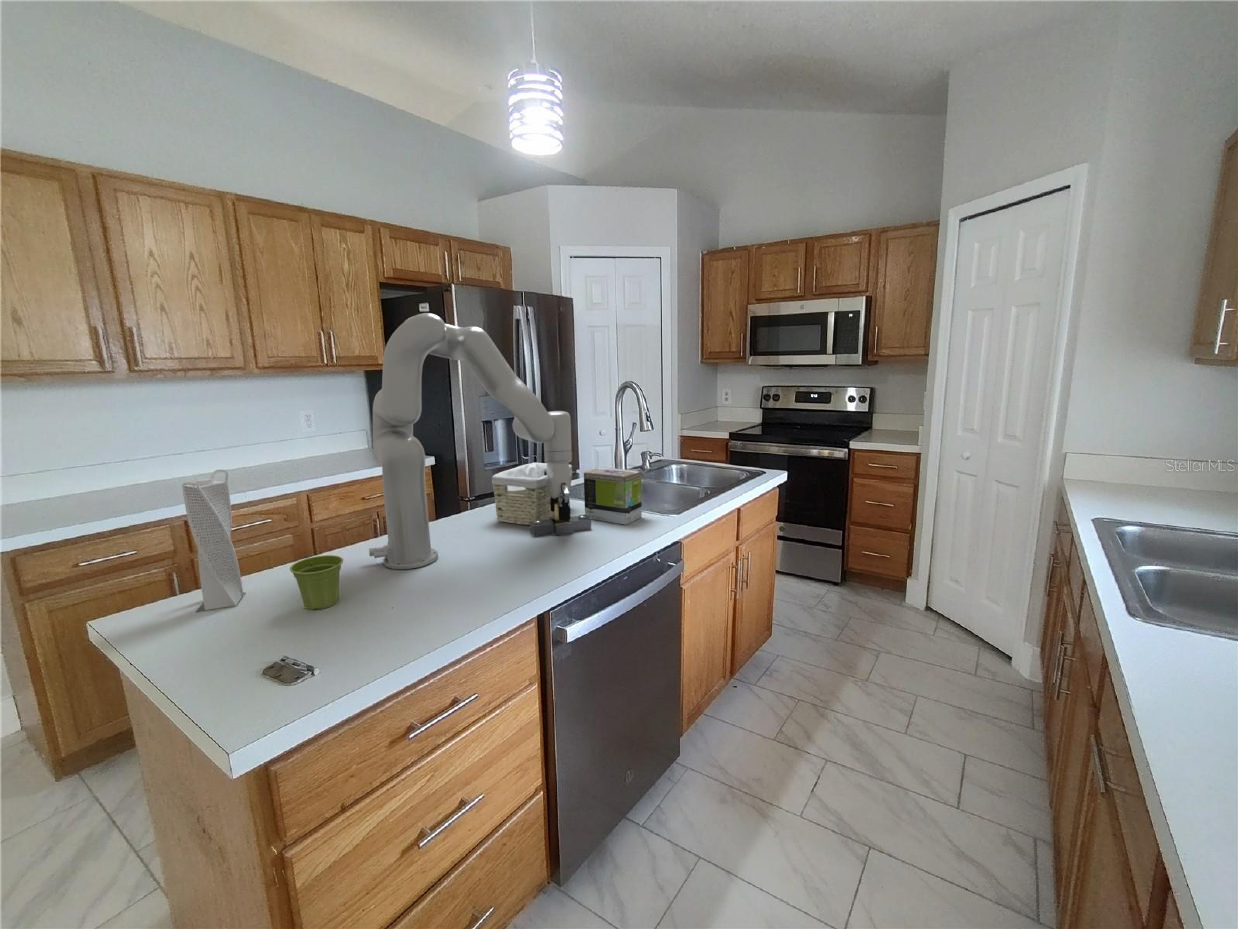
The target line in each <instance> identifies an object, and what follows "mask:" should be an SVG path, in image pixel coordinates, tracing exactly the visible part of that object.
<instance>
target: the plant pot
mask: <svg viewBox="0 0 1238 929" xmlns="http://www.w3.org/2000/svg"><path fill="white" fill-rule="evenodd" d="M343 563H344V558H343V557H341V556H339V555H333V554H332V555H331V554H329V555H317V556H312V557H309V558H304V559H301V560H299V561H297V562H294V563H293V564H291V566H290V567H289V570H290V572H291V573H292V575H293V576H294V578H295V579H296V582H297V586H298V589H299V592H300V595H301V598H302V602H303V605H304V607H305V609H307V610H311V611H312V610H315V609H320V610H323V609H327V608H329V607H332V606H334V605H335V604H337V602H338V600H339V594H340V593H339V592H340V571H341V568H342V564H343Z"/></svg>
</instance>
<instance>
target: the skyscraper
mask: <svg viewBox="0 0 1238 929" xmlns="http://www.w3.org/2000/svg"><path fill="white" fill-rule="evenodd" d="M217 473H224V474H225V479H224V481H221V480H215V479H214V477H215V475H216V474H217ZM228 479H229V471H226V470H224V469H216V470H214V471H213V472H212V474H211V476H210V477H206V478H204V477H203V478H199V479H196V480H195V482H188V481H187V482H183V483H182V485H181V488H182V494H183V501H184V507H185V511H186V517H187V521H188V524H189V528H190V532H191V534H192V538H193V539H194V542H195V544H196V547H197V559H198V563H197V564H198V572H199V580H200V587H201V593H202V600H203V601H202V603H201V604H200V605H199V607H197V609H196V610H195V613H200V612H209V611H215V610H222V609H227V608H229V609H230V608H234V607H235V608H236V607H238V605H239V604H240V603H241V601H242V599H243V598H244V597H245V595H246V592H245V591H244V590H243V589H244V588H243V582H242V577H241V571H240V567H239V561H238V558H237V553H236V550H235V548H234V544H233V541H232V539H231V533H232V525H233V523H232V516H233V515H232V505H231V504H232V503H231V495H230V489H229V483H228Z"/></svg>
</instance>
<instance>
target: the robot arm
mask: <svg viewBox="0 0 1238 929" xmlns="http://www.w3.org/2000/svg"><path fill="white" fill-rule="evenodd" d="M428 355H432V356H437V357H440V358H443V359H444V358H445V359H449V360H455V361H459V362H460V361H461V362H464V363H465V364H466V365H467V367H468V368H469V370H470V371H471V372H472V373H473V375H474V376H475V378H476V379H477V380H478V382H479V383H480V385H481V386H482V387H483V389H484V390H485V391H486V393H487V394H488V395H490V397H492V398H493V399H494V400H495V401H497V402H499V403H500V404H502V405H504V406H505V408H507V409H508V410H509V411H510V412H511V413H512V414H513V415H514V416H515V418H514V419H513V421H512V430H513V432H514V434H515V435H516V436H517V437H519V438H520V439H523V440H525V441H528V442H529V441H530V442H533V443H536V444H543V451H544V452H543V453H544V455H543V456H544V463H547V472H545V473H546V489H547V493H548V494H549V495H550V497H551V498H550V508H551V511H552V512H553V511H554V503H556V502H559V506H558V515H559V520H560V521H563V520H570V517H571V501H570V499H569V496H570V497H571V488H570V471H569V470H570V469H569V465H570V463H571V462H573V461H572V460H573V458H572V457H573V455H572V454H573V453H572V429H571V428H572V425H571V415H570V413H569V412H568V411H564V410H554V411H553V410H552V411H547V409H546V407H545V406H544V405H543V403H542V401H540V399H539V397H538V396H536V394H535V393H534V392H533V391H532V390H531V389H530V388H529V387H528V386H527V385H526V384H525V383H524V381H522V380H521V379H520V378H519V376H517V375H516V373H515V372H514V370H513V369H512V368H511V366H510V365H509V363H508V362H507V360H506V359H505V357H504V356H503V354H502V353H501V351H500V350H499V349H498V347H497V345H496V344H495V342H494V341H493V340H492V338H491V336H489V334H488V333H487V332H486V331H485V330H484V329H483V328H481V327H478V326H466V327H461V326H457V325H452V324H447V323H445V321H444V320H443V319H442V318H441V317H440V316H438V315H437V314H435V313H430V312H423V313H419V314H415V315H413V316H411V317H409V318H407V319H405V320H404V321H403V323H401V324H400V325H399V326H398V327H397V328H396V329H395V331H394V332H393V333H392V334H391V336H390V338H389V339H388V341H387V343H386V345H385V348H384V353H383V360H382V375H381V376H382V380H381V389H380V390H379V391H378V392H377V393H376V394H375V397H374V399H373V402H372V449H373V450H372V451H373V453H374V456H375V458H376V459H377V461H379V463H381V468H382V493H383V494H382V495H383V502H384V503H383V504H384V512H385V521H386V531H387V532H386V533H387V539H388V541H387V544H386V545H383V546H382V547H372V548H368V554H369V555H368V556H369V557H374V559H378V558H379V559H381V558H383V559H382V561H383V566H384V567H387V568H389V569H392V570H410V569H415V568H416V569H417V568H421V567H424V566H427V565H430V564H432V563H434V562H436V560H437V559H438V558H439V553H438V552H439V551H437V550H436V549H435V548H432V546H431V534H430V522H429V511H428V510H429V509H428V499H427V498H428V497H427V489H426V453H425V452H426V451H425V449H424V447H423V445H422V443H421V441H420V440H419V439H418V438H417V437H415V436H414V424H415V423H417V421H419V419H420V417H421V414H422V408H423V407H422V377H423V376H422V375H423V366H424V362H425V359H426V357H427V356H428ZM561 499H562V502H561ZM569 501H570V502H569Z"/></svg>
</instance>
